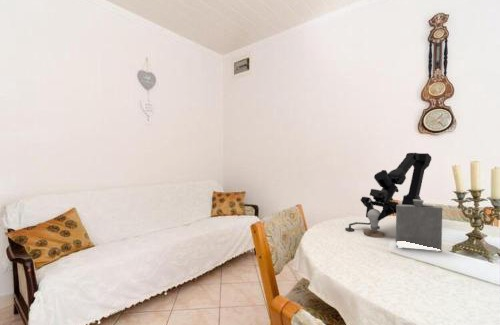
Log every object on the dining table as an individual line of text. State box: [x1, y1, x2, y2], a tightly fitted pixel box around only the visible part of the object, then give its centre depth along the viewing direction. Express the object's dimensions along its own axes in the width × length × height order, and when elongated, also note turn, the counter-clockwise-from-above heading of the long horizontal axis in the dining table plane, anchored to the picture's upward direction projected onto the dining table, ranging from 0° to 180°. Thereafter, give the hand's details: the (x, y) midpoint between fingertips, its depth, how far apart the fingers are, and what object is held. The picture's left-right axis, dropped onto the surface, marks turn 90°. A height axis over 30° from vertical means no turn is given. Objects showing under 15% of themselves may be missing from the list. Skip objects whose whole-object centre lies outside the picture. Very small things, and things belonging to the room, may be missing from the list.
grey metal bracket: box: [344, 221, 381, 233], centre depth 127 cm, size 18×4×3 cm, turn 104°
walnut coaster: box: [363, 229, 385, 238], centre depth 119 cm, size 9×9×1 cm
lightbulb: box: [367, 208, 381, 232], centre depth 119 cm, size 6×6×11 cm
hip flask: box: [395, 199, 443, 251], centre depth 102 cm, size 16×4×20 cm, turn 72°
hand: (372, 218), depth 119 cm, fingers closed on lightbulb, 6 cm apart
